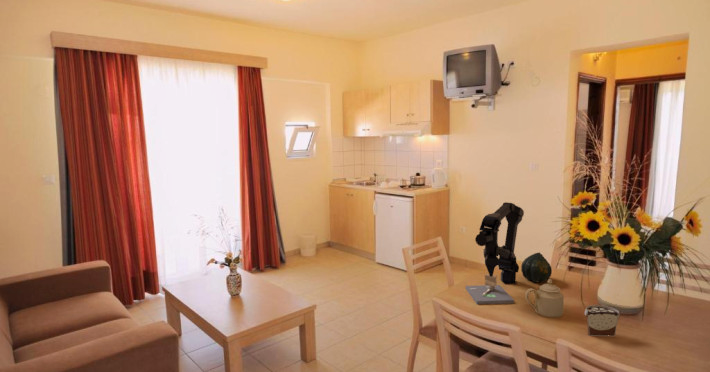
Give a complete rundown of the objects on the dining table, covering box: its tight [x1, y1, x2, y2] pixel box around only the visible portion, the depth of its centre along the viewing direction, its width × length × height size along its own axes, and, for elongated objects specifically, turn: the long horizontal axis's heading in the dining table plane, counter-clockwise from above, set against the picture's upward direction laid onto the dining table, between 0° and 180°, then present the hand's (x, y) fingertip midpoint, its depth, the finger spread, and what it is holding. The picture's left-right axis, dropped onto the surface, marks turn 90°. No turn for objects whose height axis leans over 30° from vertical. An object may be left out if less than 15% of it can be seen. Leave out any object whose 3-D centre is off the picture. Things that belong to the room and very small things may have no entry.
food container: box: [584, 304, 621, 337], centre depth 161 cm, size 12×6×10 cm, turn 84°
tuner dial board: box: [465, 284, 515, 305], centre depth 200 cm, size 17×19×2 cm
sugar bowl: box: [524, 278, 565, 318], centre depth 178 cm, size 15×11×15 cm
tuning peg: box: [483, 273, 497, 295], centre depth 199 cm, size 12×5×7 cm, turn 143°
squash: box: [520, 252, 553, 283], centre depth 218 cm, size 14×15×15 cm
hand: (490, 273), depth 202 cm, fingers open, 9 cm apart
